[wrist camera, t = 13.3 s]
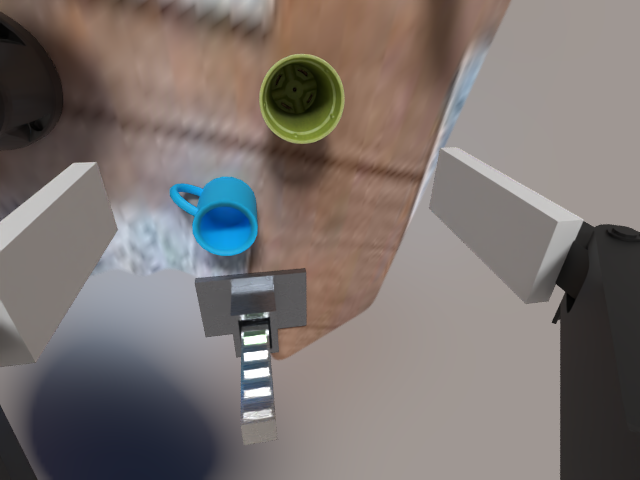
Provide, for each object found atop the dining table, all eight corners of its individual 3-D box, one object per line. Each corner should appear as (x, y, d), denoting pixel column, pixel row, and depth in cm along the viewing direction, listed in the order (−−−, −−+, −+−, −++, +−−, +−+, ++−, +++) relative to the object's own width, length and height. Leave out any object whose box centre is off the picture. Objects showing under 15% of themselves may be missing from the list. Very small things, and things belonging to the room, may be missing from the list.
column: (244, 349, 57) (244, 449, 44) (240, 323, 55) (239, 421, 41) (269, 346, 58) (277, 443, 44) (267, 320, 55) (275, 415, 42)
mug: (266, 192, 54) (269, 217, 47) (240, 235, 56) (239, 264, 49) (187, 152, 49) (177, 173, 42) (163, 201, 51) (151, 228, 45)
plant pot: (309, 138, 51) (320, 157, 43) (245, 106, 47) (245, 121, 40) (341, 73, 47) (359, 81, 40) (275, 33, 43) (282, 35, 36)
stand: (206, 332, 65) (200, 377, 57) (195, 278, 59) (187, 319, 50) (305, 320, 68) (314, 362, 59) (305, 268, 62) (314, 305, 53)
